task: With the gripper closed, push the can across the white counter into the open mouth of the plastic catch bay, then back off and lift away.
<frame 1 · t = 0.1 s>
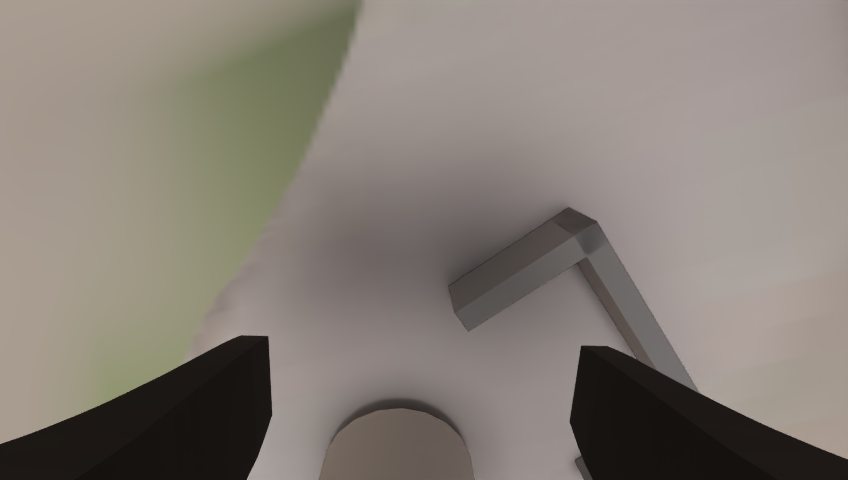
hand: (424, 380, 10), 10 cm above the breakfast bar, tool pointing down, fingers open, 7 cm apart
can: (398, 456, 23), on the breakfast bar
catch bay: (546, 370, 21), on the breakfast bar
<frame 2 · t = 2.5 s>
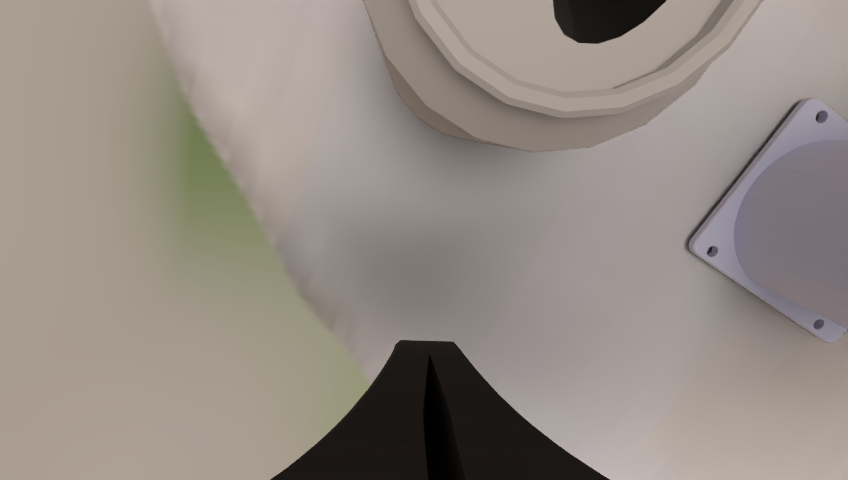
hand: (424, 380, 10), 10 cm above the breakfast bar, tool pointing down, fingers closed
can: (475, 47, 18), on the breakfast bar
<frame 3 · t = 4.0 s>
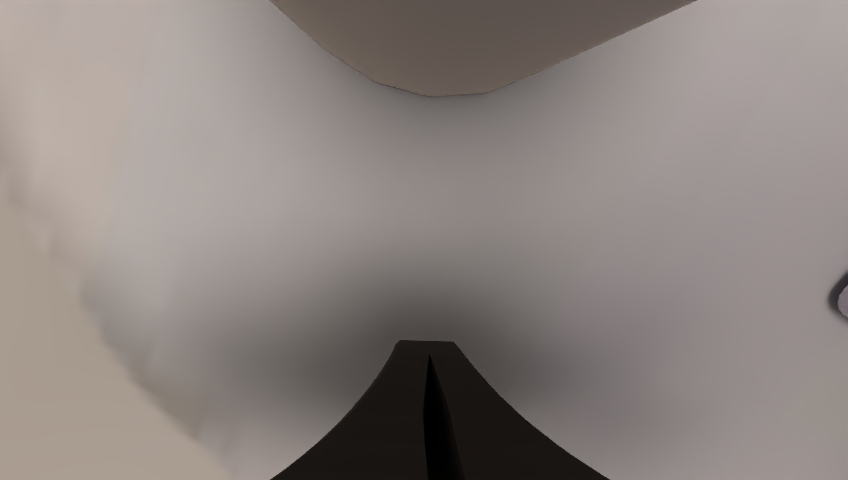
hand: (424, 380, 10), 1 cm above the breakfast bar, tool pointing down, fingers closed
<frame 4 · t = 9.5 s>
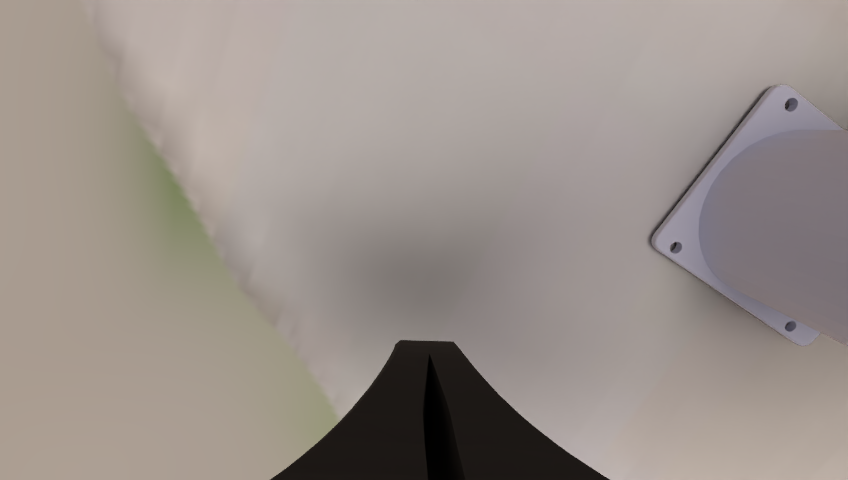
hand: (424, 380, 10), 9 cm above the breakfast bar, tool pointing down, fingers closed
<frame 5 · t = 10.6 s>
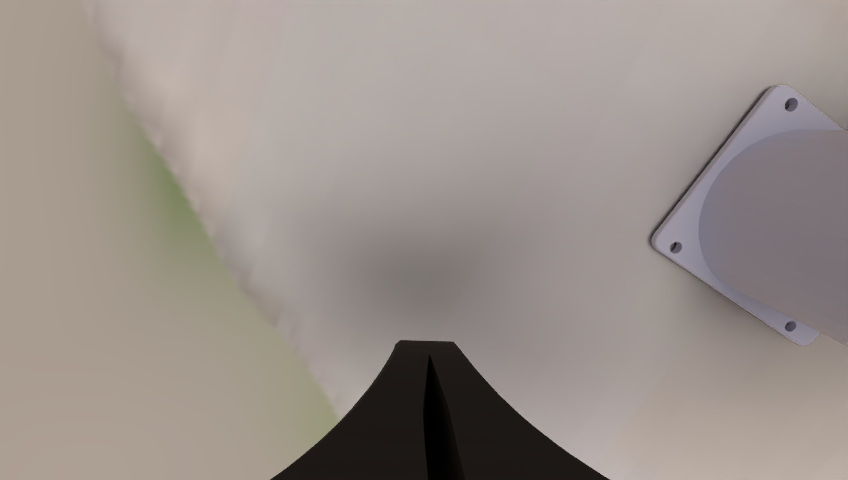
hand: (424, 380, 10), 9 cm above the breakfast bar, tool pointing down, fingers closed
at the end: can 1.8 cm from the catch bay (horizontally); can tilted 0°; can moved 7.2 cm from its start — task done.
